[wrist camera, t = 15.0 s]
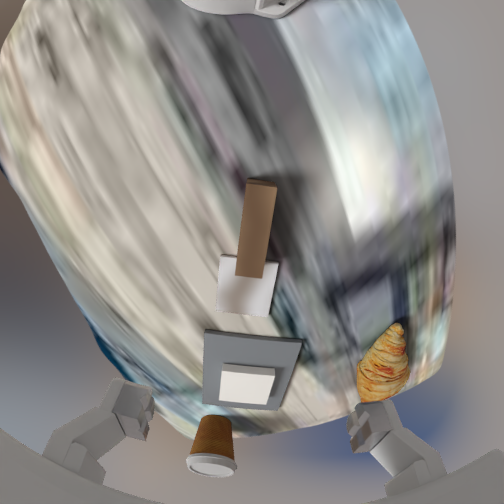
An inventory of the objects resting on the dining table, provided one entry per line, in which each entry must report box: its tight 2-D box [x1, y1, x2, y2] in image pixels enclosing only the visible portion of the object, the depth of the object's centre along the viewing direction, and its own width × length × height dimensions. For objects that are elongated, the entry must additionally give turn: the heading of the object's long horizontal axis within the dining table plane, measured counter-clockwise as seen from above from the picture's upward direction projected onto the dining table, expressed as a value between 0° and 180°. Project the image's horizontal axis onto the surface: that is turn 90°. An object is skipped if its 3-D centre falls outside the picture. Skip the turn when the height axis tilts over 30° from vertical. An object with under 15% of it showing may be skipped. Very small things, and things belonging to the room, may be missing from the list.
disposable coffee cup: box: [186, 415, 237, 477], centre depth 42 cm, size 10×10×12 cm
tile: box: [219, 363, 275, 405], centre depth 40 cm, size 2×8×8 cm
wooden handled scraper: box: [216, 178, 278, 317], centre depth 31 cm, size 7×18×4 cm, turn 172°
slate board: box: [202, 329, 302, 411], centre depth 41 cm, size 18×14×1 cm
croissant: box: [357, 323, 410, 403], centre depth 38 cm, size 21×10×8 cm, turn 4°
